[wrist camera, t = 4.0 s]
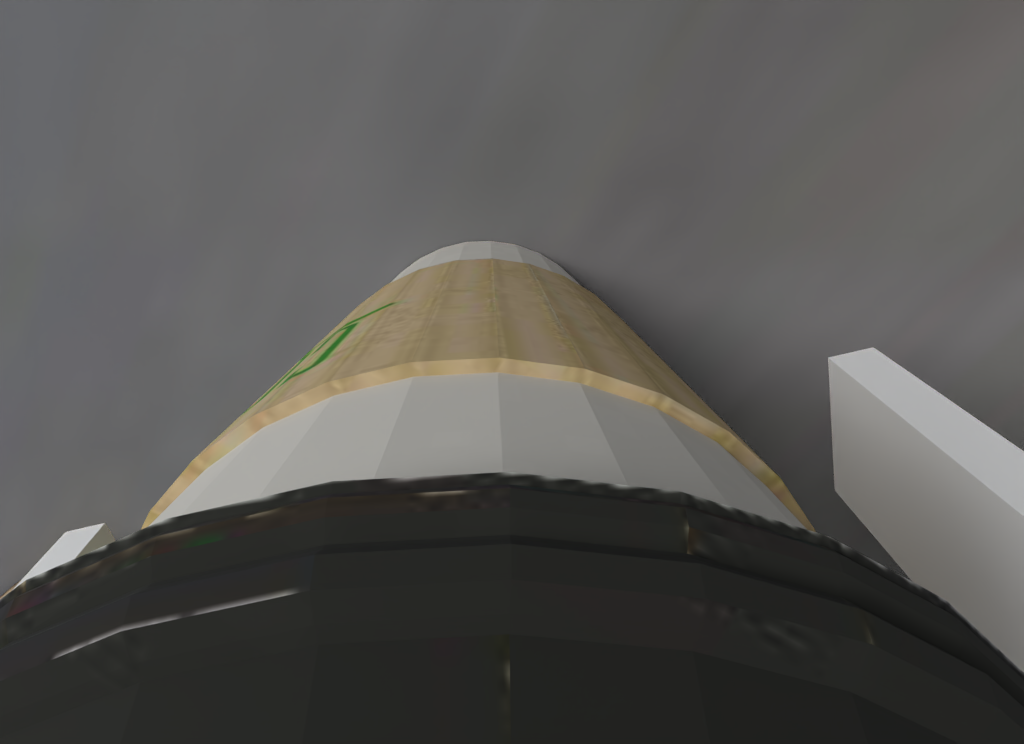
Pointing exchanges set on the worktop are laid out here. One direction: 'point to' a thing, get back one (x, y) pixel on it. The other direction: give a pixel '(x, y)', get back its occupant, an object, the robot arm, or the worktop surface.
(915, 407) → the robot arm
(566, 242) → the worktop surface
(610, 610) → the coffee cup
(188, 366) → the worktop surface
